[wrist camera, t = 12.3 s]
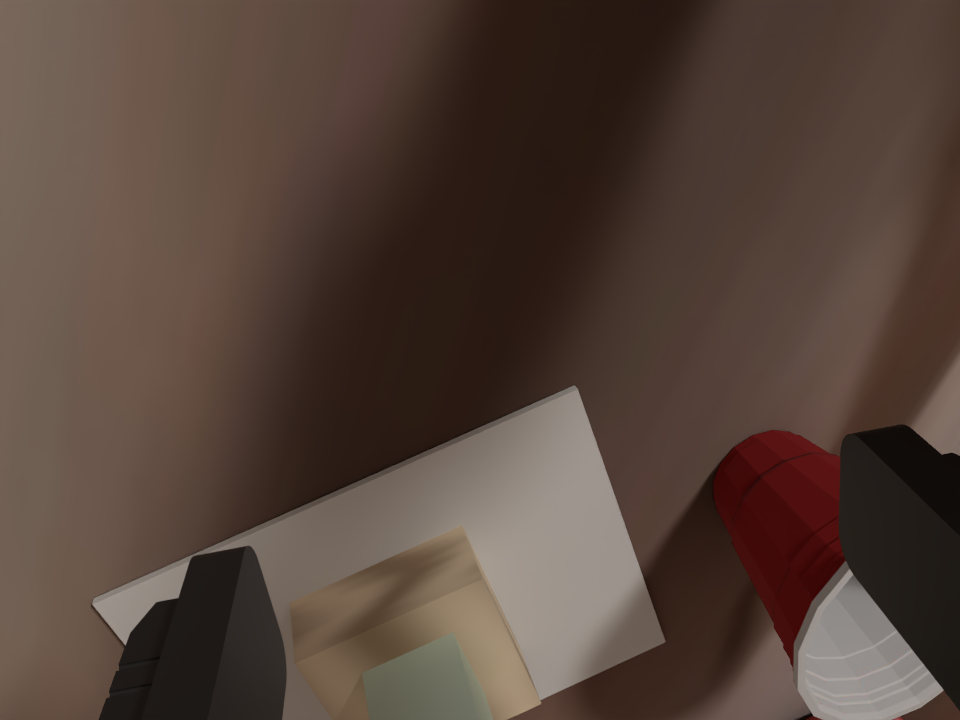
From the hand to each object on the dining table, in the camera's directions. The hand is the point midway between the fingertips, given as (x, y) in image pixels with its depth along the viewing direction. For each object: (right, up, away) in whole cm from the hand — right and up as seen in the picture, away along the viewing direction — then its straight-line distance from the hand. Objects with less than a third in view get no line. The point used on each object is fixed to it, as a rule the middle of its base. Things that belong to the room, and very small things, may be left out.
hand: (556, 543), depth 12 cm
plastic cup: (+14, -3, +35) cm, 38 cm away
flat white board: (-5, -11, +33) cm, 35 cm away
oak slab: (-4, -11, +33) cm, 35 cm away
